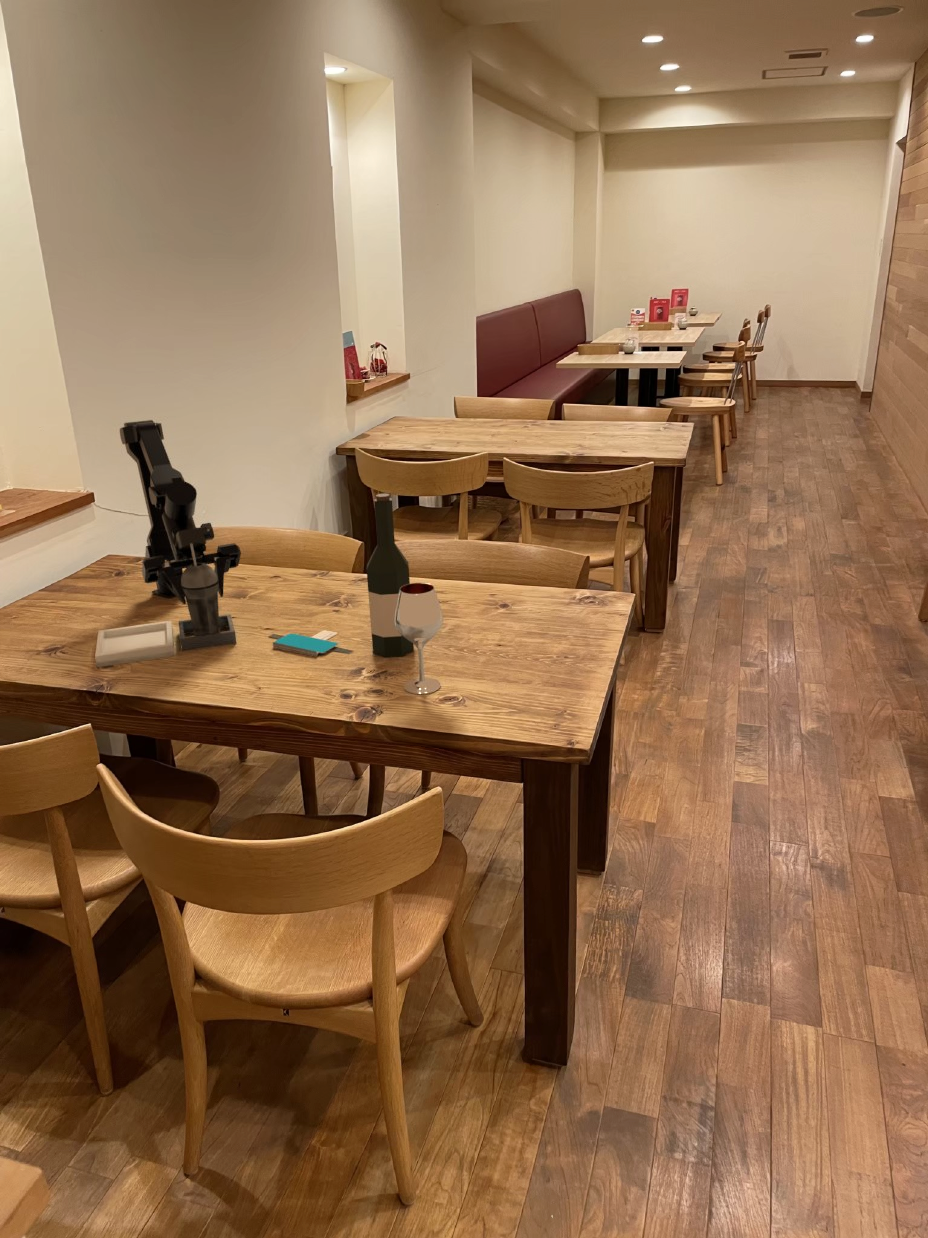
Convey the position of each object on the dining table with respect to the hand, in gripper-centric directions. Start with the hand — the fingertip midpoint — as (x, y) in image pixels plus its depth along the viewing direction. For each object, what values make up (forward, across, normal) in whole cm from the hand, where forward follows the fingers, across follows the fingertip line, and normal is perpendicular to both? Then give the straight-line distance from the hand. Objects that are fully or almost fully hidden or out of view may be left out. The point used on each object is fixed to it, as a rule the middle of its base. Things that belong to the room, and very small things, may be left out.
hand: (203, 599), depth 176 cm
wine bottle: (+24, +29, -11) cm, 39 cm away
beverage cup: (+5, 0, +7) cm, 9 cm away
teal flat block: (+16, +17, -2) cm, 23 cm away
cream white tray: (+3, -13, +9) cm, 16 cm away
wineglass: (+36, +26, -24) cm, 51 cm away
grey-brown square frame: (+5, 0, +7) cm, 9 cm away
